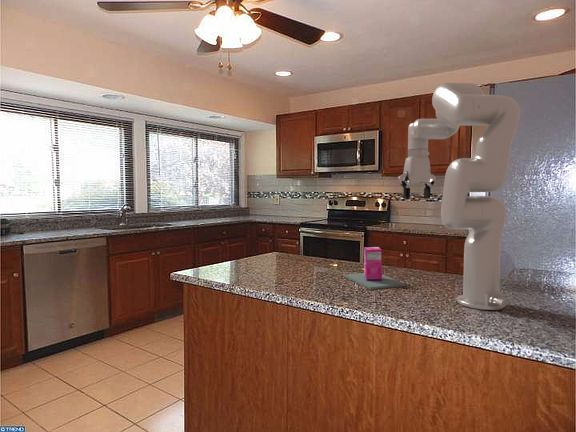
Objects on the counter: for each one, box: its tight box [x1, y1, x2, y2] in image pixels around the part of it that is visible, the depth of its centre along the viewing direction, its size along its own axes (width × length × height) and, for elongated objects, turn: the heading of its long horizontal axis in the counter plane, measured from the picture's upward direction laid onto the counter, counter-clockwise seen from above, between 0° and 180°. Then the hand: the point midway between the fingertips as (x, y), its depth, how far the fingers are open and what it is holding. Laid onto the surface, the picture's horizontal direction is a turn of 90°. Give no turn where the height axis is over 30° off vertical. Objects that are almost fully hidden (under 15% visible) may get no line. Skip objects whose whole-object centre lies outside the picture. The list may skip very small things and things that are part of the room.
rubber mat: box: [343, 272, 407, 290], centre depth 141 cm, size 20×14×1 cm
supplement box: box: [363, 246, 383, 281], centre depth 140 cm, size 6×6×12 cm
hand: (416, 197), depth 152 cm, fingers open, 9 cm apart
